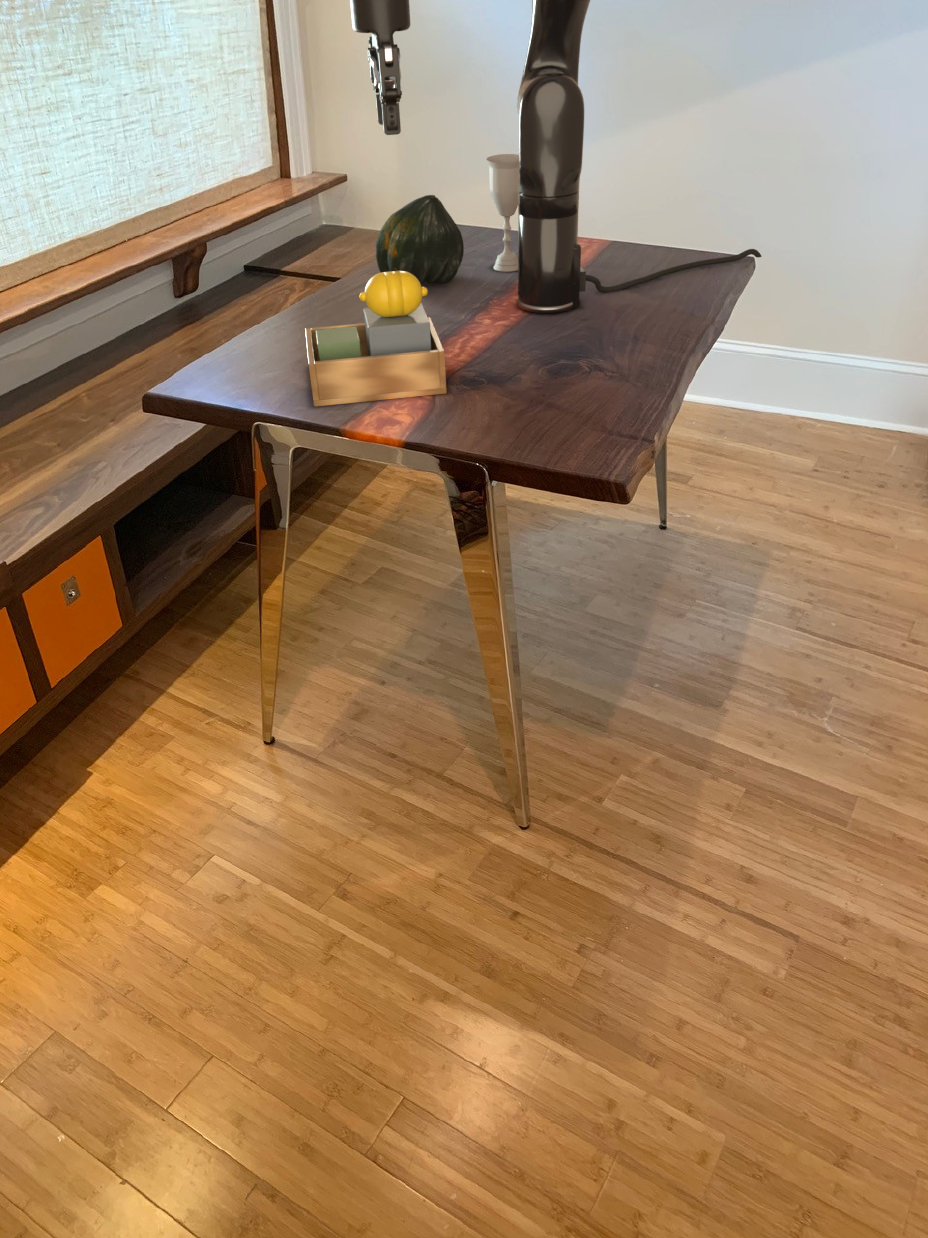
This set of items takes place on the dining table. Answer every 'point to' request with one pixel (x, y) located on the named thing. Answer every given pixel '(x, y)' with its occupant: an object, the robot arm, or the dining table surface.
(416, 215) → the squash
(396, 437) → the dining table surface
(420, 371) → the crate
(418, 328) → the block grey
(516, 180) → the chalice
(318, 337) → the block sage
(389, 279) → the lemon
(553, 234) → the robot arm
